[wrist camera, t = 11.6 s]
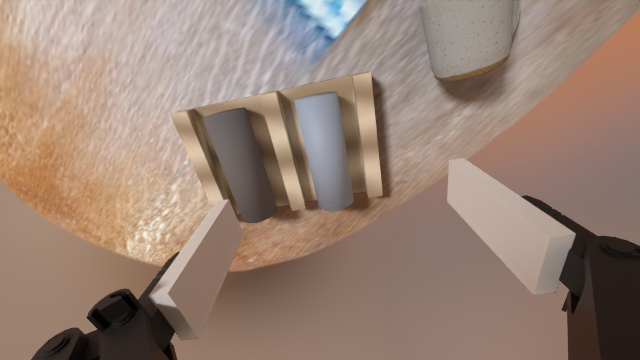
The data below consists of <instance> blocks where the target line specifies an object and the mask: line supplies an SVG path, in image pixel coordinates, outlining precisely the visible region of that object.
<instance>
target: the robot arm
mask: <svg viewBox="0 0 640 360" xmlns="http://www.w3.org/2000/svg"><path fill="white" fill-rule="evenodd" d="M447 202H448V203H449V204H450V205H451V206H452V207H453V208H454V209H455V210H456V211H457V212H458V213H459V214H460V216H461V217H462V218H463V219H464V220H465V221H466V222H467V223H468V224H469V226H470V227H471V228H472V229H473V230H474V231H475V232H476V233H477V234H478V235H479V236H480V238H481V239H482V240H483V241H484V242H485V243H486V244H487V245H488V246H489V247H490V248H491V250H492V251H493V252H494V253H495V254H496V255H497V256H498V257H499V258H500V259H501V260H502V261H503V263H505V265H506V266H507V267H508V268H509V269H510V270H511V271H512V272H513V274H514V275H515V276H516V277H517V278H518V279H519V280H520V281H521V282H522V283H523V284H524V285H525V287H526V288H527V289H528V290H529V291H530V292H531V293H532V294H533V295H540V294H548V293H555V292H556V290H557V287H558V284H559V281H561V282H562V283H563V284H564V285H565V286H566V287H567V288H568V289H569V292H568V295H567V297H566V300H565V303H564V305H563V308H562V311H565V312H566V310H567V319H568V320H567V321H568V360H640V246H639V245H636V244H634V243H632V242H629V241H627V240H623V239H619V238H616V237H609V236H596V235H595V234H593V233H592V232H590V231H589V230H587V229H585V228H584V227H582V226H580V225H579V224H577V223H576V222H574V221H573V220H571V219H569V218H568V217H566V216H565V215H562V214H561V213H560V212H558V211H557V210H555V209H552V207H550V206H549V205H547V204H546V203H544V202H542V201H540V200H538V199H535V198H532V197H529V196H527V195H526V196H519V195H518V194H516V193H515V192H513V191H512V190H510V189H509V188H507V187H505V186H504V185H502V184H501V183H500V182H498V181H497V180H495V179H494V178H492V177H491V176H489V175H487V174H486V173H485V172H483V171H481V170H480V169H479V168H477V167H476V166H474V165H473V164H471V163H470V162H468V161H467V160H465V159H464V158H460V159H455V160H449V176H448V197H447ZM243 235H244V234H243V232H242V229H241V227H240V225H239V222H238V220H237V217H236V215H235V213H234V210H233V208H232V206H231V203H230V201H229V199H227V200H221V201H217V202H216V203H215V205H214V206H213V207H212V209H211V210H210V211H209V213H208V214H207V216H206V217H205V218H204V220H203V221H202V223H201V224H200V225H199V227H198V228H197V229H196V231H195V232H194V234H193V235H192V236H191V238H190V239H189V240H188V242H187V243H186V245H185V246H184V247H183V249H182V250H181V252H177V253H176V254H175V255H173V256H172V257H171V258H170V259H169V260H168V261H167V262H166V263H165V265H164V266H163V268H162V269H161V271H159V273H158V274H157V275H156V278H155V279H153V281H152V282H151V283H150V285H149V286H148V287H147V289H146V290H145V291H144V293H143V294H142V295H141V297H140V298H139V299H138V300H137V299H136V297H135V296H134V295H133V294H132V293H131V291H130V290H129V289H121V290H117V291H115V292H113V293H111V294H109V295H107V296H106V297H104V298H103V299H101V300H100V301H99V302H98V303H97V304H96V305H95V306H94V307H93V308H92V309H91V310H90V312H89V313H88V316H87V319H88V320H89V321H90V322H91V323H92V324H93V325H94V326H95V327H96V328H97V329H98V330H95V331H93V332H90V333H88V334H84V333H83V332H82V331H81V330H80V329H79V328H70V329H67V330H65V331H63V332H61V333H59V334H57V335H55V336H54V337H52V338H51V339H50V340H48V341H47V342H46V343H45V344H44V345H43V346H42V347H41V348H40V349H39V350H38V351H37V352H36V354H35V355H34V357H33V358H32V359H31V360H177V357H176V353H175V349H174V346H173V344H172V343H171V342H170V341H171V338H172V337H173V335H174V333H176V334H177V335H178V337H179V338H180V339H181V340H182V341H183V340H190V339H198V338H199V337H200V335H201V332H202V330H203V328H204V325H205V323H206V321H207V318H208V316H209V314H210V311H211V309H212V307H213V304H214V302H215V300H216V297H217V295H218V293H219V291H220V288H221V286H222V283H223V281H224V279H225V277H226V274H227V272H228V270H229V267H230V265H231V263H232V260H233V258H234V256H235V253H236V251H237V249H238V246H239V244H240V242H241V240H242V237H243Z"/></svg>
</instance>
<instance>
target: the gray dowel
mask: <svg viewBox="0 0 640 360" xmlns="http://www.w3.org/2000/svg"><path fill="white" fill-rule="evenodd" d="M294 102H295V106H296V110H297V115H298V119H299V123H300V128H301V132H302V136H303V141H304V145H305V149H306V154H307V158H308V162H309V167H310V171H311V175H312V180H313V184H314V189H315V193H316V197H317V202H318V206H319V207H320V208H321V209H323V210H326V211H337V210H341V209H344V208H347V207H348V206H350V205H351V204H352V203H353V201H354V196H353V189H352V183H351V177H350V170H349V164H348V157H347V151H346V144H345V138H344V131H343V125H342V118H341V112H340V106H339V99H338V93H337V91H332V92H324V93H319V94H314V95H309V96H306V97H302V98H299V99H296V100H295V101H294Z"/></svg>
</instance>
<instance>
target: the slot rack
mask: <svg viewBox="0 0 640 360" xmlns="http://www.w3.org/2000/svg"><path fill="white" fill-rule="evenodd" d="M332 91H337V93H338V99H339V106H340V112H341V118H342V125H343V131H344V138H345V144H346V151H347V157H348V164H349V170H350V177H351V183H352V189H353V194H354V193H360V192H366V193H367V195H368V198H372V197H378V196H383V192H382V182H381V171H380V161H379V151H378V140H377V130H376V119H375V109H374V98H373V88H372V77H371V72H364V73H359V74H355V75H350V76H345V77H340V78H336V79H331V80H326V81H321V82H317V83H312V84H307V85H302V86H298V87H293V88H288V89H283V90H279V91H274V92H269V93H264V94H260V95H255V96H250V97H245V98H241V99H236V100H231V101H226V102H222V103H217V104H212V105H207V106H203V107H198V108H193V109H188V110H184V111H180V112H177V113H174V114H170V115H171V117H172V120H173V122H174V124H175V126H176V129H177V131H178V133H179V135H180V137H181V140H182V142H183V144H184V146H185V148H186V151H187V153H188V155H189V157H190V160H191V162H192V164H193V166H194V168H195V171H196V173H197V175H198V177H199V180H200V182H201V184H202V186H203V188H204V191H205V193H206V195H207V197H208V200H209V202H210V204H211V206H212V207H213V206H214V205H215V203H216V202H217V201H221V200H227V199H229V201H230V203H231V206H232V208H233V210H234V213H235V215H236V214H239V213H240V212H239V209H238V207H237V204H236V202H235V199H234V196H233V194H232V191H231V189H230V186H229V184H228V181H227V179H226V176H225V174H224V171H223V169H222V166H221V164H220V161H219V159H218V156H217V154H216V151H215V149H214V146H213V144H212V141H211V139H210V136H209V134H208V131H207V129H206V126H205V123H204V121H203V117H206V116H208V115H212V114H215V113H219V112H222V111H227V110H231V109H236V108H243V107H245V108H246V110H247V113H248V116H249V119H250V122H251V125H252V129H253V132H254V135H255V138H256V141H257V144H258V148H259V151H260V154H261V157H262V160H263V163H264V167H265V170H266V173H267V176H268V179H269V182H270V186H271V189H272V192H273V195H274V198H275V201H276V205H277V207H279V206H285V205H291V209H292V211H296V210H302V209H306V202H308V201H314V200H317V197H316V193H315V189H314V184H313V180H312V175H311V171H310V167H309V162H308V158H307V154H306V149H305V145H304V141H303V136H302V132H301V128H300V123H299V119H298V115H297V110H296V106H295V102H294V101H295V100H296V99H299V98H302V97H306V96H309V95H314V94H319V93H324V92H332Z"/></svg>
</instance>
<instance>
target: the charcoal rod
mask: <svg viewBox="0 0 640 360" xmlns="http://www.w3.org/2000/svg"><path fill="white" fill-rule="evenodd" d="M203 121H204V123H205V126H206V129H207V131H208V134H209V136H210V139H211V141H212V144H213V146H214V149H215V151H216V154H217V156H218V159H219V161H220V164H221V166H222V169H223V171H224V174H225V176H226V179H227V181H228V184H229V186H230V189H231V191H232V194H233V196H234V199H235V202H236V204H237V207H238V209H239V212H240V214H241V217H242V219H243V221H244V222H247V223H257V222H261V221H263V220H266V219H268V218H269V217H271V216H272V215H273V214H275V212H276V211H277V205H276V201H275V198H274V195H273V192H272V189H271V186H270V182H269V179H268V176H267V173H266V170H265V167H264V163H263V160H262V157H261V154H260V151H259V148H258V144H257V141H256V138H255V135H254V132H253V129H252V125H251V122H250V119H249V116H248V113H247V110H246V108H245V107H243V108H236V109H231V110H227V111H222V112H219V113H215V114H212V115H208V116H206V117H203Z"/></svg>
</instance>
